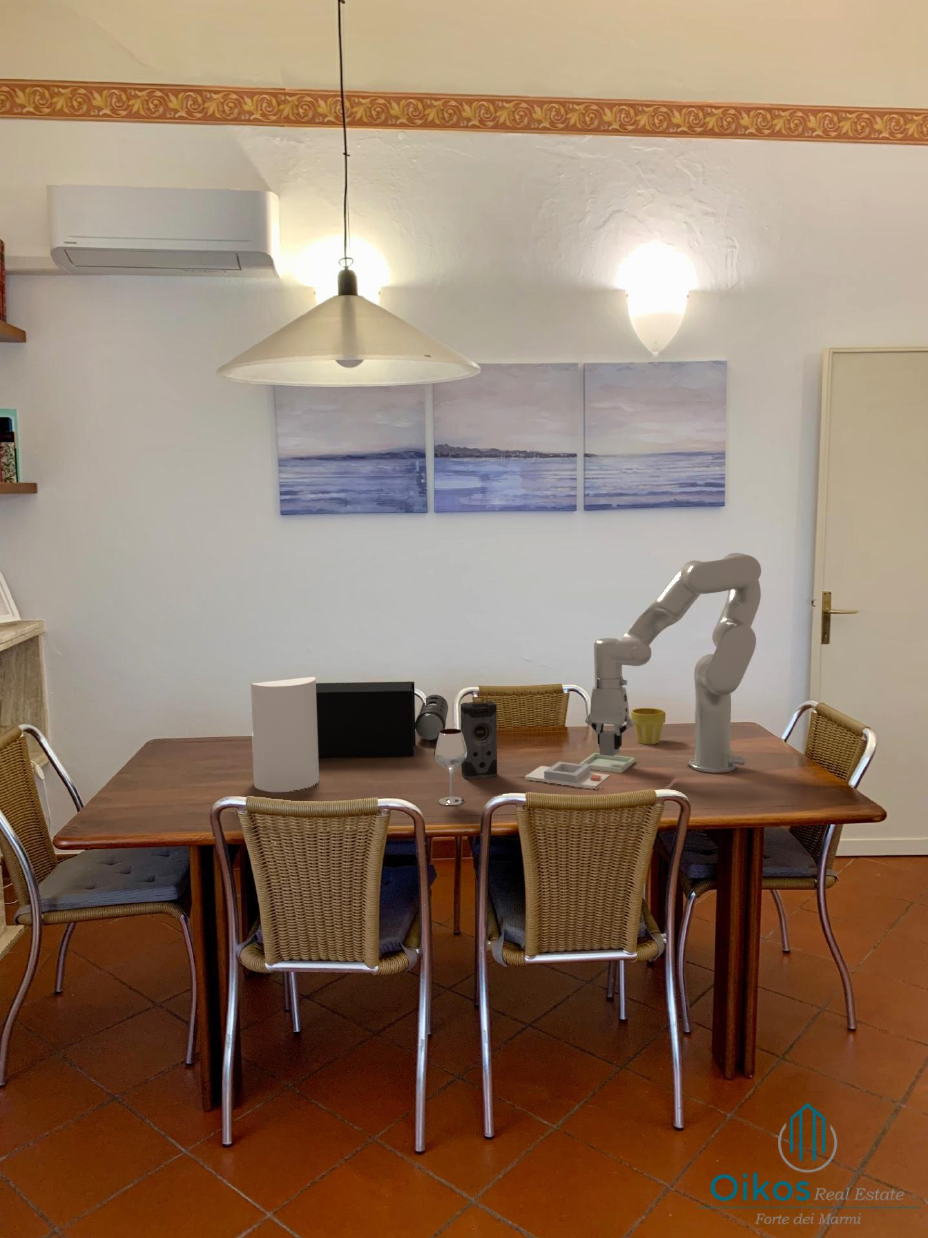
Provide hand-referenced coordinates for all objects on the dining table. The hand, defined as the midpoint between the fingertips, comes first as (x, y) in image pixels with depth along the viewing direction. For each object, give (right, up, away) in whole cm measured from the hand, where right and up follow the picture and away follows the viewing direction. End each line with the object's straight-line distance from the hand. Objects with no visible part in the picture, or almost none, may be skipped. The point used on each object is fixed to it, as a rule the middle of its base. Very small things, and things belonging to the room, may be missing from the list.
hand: (609, 747), depth 254 cm
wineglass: (-44, -10, -27) cm, 52 cm away
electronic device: (-37, -7, -5) cm, 38 cm away
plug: (0, -2, 0) cm, 2 cm away
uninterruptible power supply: (-73, -5, +21) cm, 76 cm away
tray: (-1, -6, +1) cm, 6 cm away
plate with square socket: (-13, -7, -10) cm, 18 cm away
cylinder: (-89, -8, -9) cm, 89 cm away
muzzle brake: (-51, -2, +42) cm, 66 cm away
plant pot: (+16, -2, +28) cm, 32 cm away
